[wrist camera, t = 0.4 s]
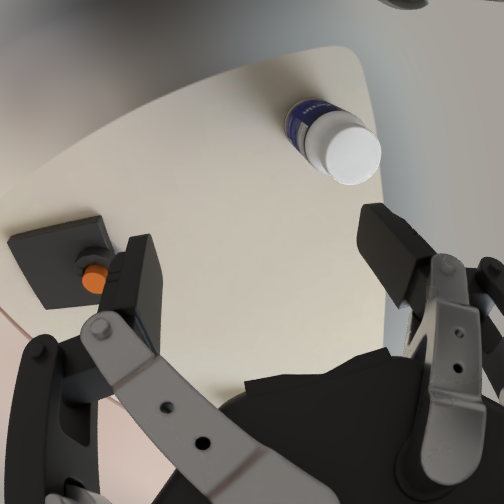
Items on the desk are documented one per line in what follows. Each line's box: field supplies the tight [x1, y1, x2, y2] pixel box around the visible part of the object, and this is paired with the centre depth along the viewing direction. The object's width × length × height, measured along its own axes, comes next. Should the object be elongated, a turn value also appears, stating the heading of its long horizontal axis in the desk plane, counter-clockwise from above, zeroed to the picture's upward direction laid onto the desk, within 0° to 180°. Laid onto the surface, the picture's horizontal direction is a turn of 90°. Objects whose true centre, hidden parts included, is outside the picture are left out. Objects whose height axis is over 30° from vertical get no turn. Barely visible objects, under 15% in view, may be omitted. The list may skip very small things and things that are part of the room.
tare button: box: [82, 264, 108, 294], centre depth 31 cm, size 3×3×2 cm
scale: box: [7, 216, 116, 310], centre depth 32 cm, size 12×15×3 cm
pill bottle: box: [285, 98, 381, 185], centre depth 24 cm, size 6×6×10 cm
